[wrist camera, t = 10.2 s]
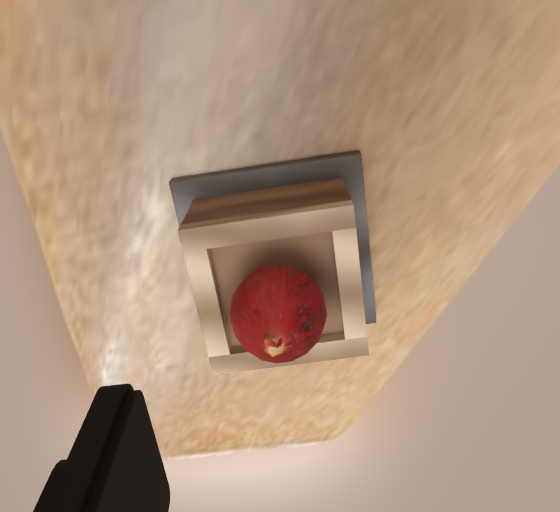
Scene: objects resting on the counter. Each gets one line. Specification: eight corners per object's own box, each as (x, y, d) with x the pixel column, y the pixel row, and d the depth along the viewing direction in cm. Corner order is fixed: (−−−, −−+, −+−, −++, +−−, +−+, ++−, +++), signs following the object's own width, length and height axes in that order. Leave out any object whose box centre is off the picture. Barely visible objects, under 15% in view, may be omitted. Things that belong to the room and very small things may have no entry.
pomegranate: (314, 239, 34) (320, 293, 27) (329, 316, 36) (339, 386, 29) (227, 256, 34) (209, 313, 27) (247, 331, 37) (236, 403, 29)
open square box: (171, 179, 39) (148, 210, 32) (359, 150, 38) (376, 177, 31) (209, 338, 44) (196, 394, 38) (374, 316, 44) (392, 370, 37)
